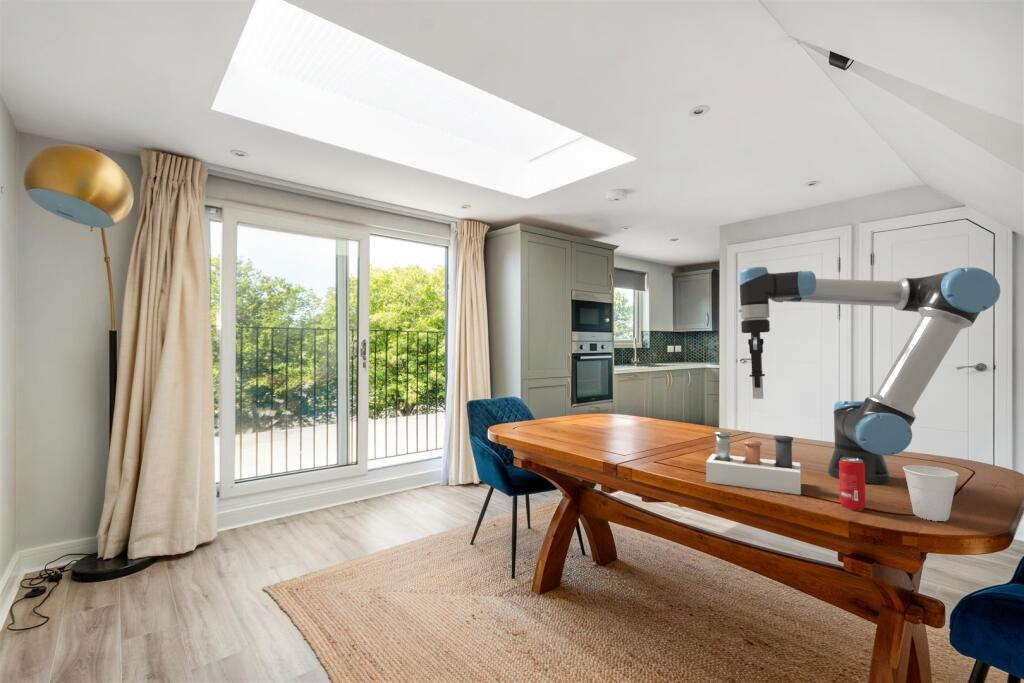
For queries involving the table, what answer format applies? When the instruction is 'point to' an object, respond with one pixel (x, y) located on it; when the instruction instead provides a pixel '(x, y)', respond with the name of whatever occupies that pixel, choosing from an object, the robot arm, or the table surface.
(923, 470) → the cup
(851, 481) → the beverage can
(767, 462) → the socket board
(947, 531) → the table surface
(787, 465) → the plug black
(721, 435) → the plug grey
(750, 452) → the plug rust
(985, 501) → the table surface
